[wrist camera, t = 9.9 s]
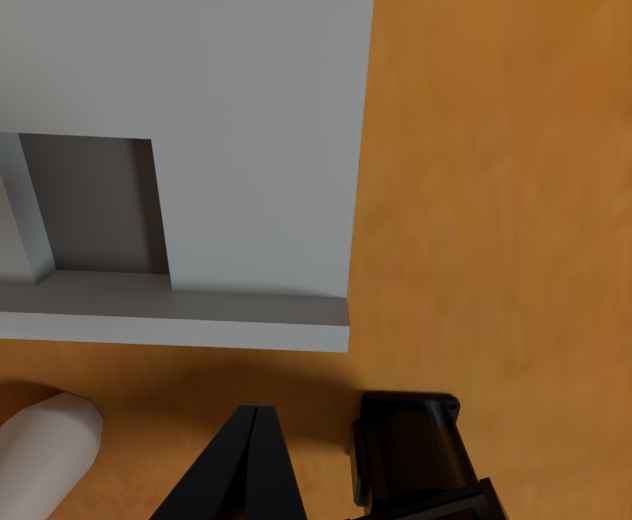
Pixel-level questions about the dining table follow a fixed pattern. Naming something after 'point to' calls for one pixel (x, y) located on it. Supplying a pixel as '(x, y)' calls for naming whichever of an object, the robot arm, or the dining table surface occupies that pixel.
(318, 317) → the box
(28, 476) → the salt shaker
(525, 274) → the dining table surface
